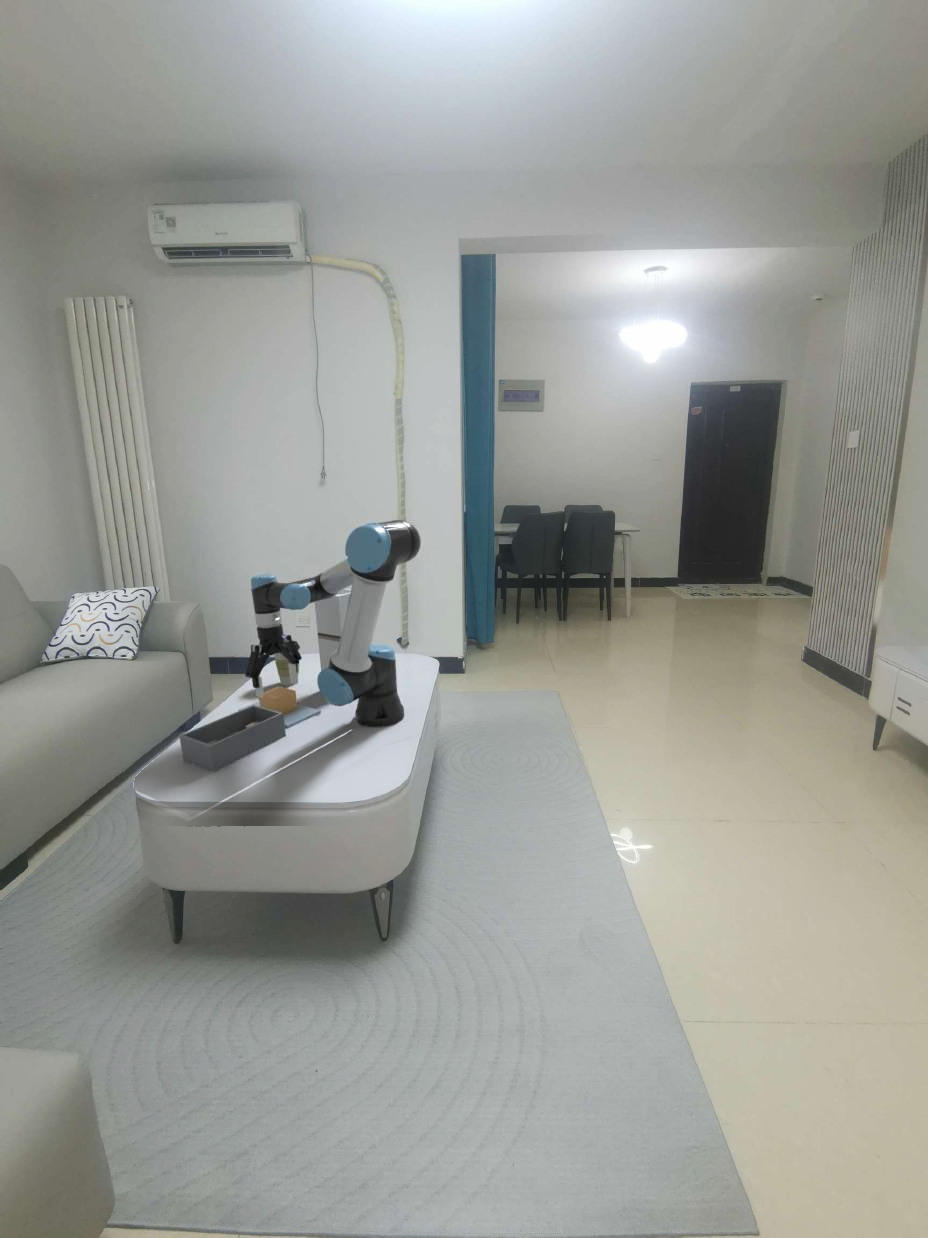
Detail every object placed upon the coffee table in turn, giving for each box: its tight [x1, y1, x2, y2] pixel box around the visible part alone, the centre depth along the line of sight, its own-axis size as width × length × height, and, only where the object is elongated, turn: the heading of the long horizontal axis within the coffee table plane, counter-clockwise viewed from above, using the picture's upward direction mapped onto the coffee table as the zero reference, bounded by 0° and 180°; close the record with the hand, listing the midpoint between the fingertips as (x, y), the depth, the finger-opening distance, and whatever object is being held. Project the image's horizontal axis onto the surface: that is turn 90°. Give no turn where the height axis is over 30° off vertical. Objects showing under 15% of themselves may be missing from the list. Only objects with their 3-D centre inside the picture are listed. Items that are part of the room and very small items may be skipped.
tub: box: [178, 705, 287, 773], centre depth 164 cm, size 13×24×8 cm, turn 148°
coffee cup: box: [273, 640, 301, 687], centre depth 215 cm, size 10×10×15 cm
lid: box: [237, 686, 322, 729], centre depth 188 cm, size 13×24×8 cm, turn 56°
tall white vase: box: [314, 588, 351, 672], centre depth 206 cm, size 11×11×35 cm
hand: (277, 689), depth 186 cm, fingers open, 13 cm apart
